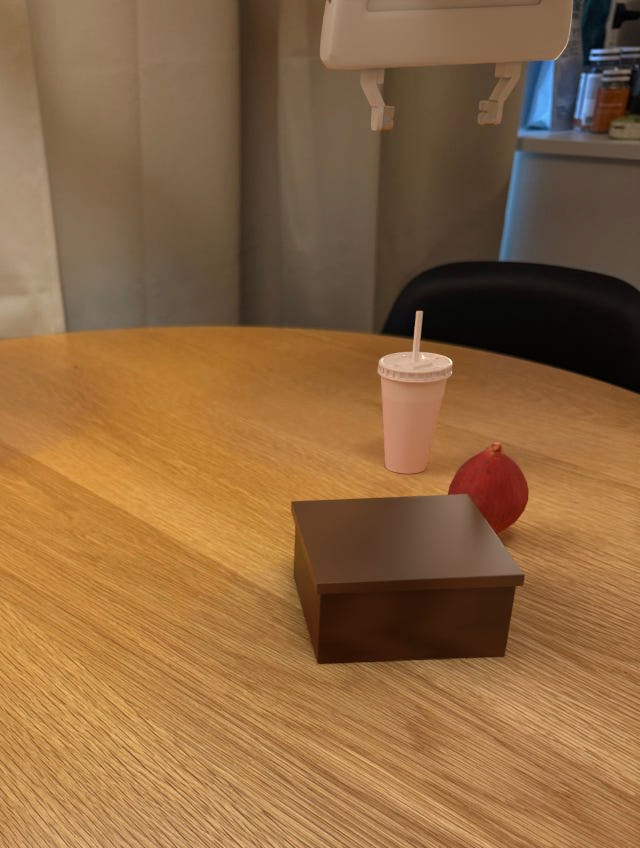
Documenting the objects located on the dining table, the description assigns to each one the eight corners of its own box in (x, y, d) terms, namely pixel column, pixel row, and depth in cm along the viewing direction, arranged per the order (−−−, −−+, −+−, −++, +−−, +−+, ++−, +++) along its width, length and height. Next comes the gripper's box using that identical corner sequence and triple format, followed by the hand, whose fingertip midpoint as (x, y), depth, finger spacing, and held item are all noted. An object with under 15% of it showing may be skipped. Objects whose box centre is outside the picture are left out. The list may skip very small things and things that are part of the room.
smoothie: (366, 476, 91) (377, 317, 83) (374, 451, 96) (386, 300, 89) (439, 481, 89) (457, 320, 82) (443, 456, 94) (461, 302, 87)
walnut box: (458, 568, 75) (468, 493, 72) (511, 658, 64) (525, 574, 61) (288, 575, 75) (291, 500, 72) (313, 666, 64) (317, 583, 61)
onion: (428, 538, 79) (438, 441, 75) (472, 517, 82) (484, 422, 78) (492, 562, 75) (506, 461, 71) (535, 539, 78) (552, 440, 74)
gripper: (334, -69, 76) (325, 136, 83) (595, -79, 77) (565, 123, 84) (314, -62, 81) (307, 130, 88) (559, -71, 82) (533, 118, 90)
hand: (435, 127), depth 86 cm, fingers open, 8 cm apart
